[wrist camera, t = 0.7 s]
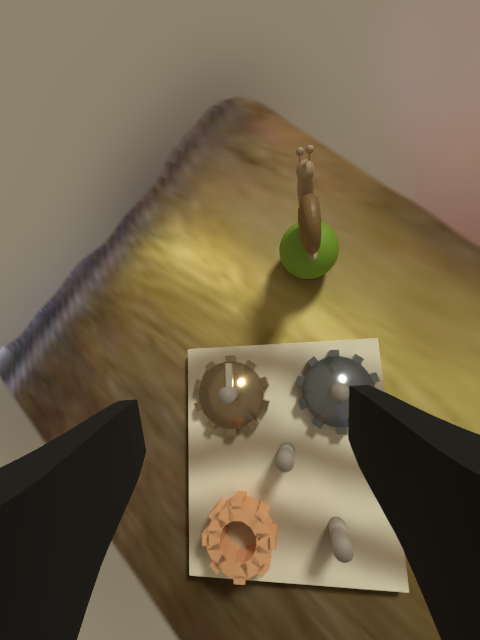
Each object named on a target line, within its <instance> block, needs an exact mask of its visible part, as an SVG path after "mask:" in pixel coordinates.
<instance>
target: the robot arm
mask: <svg viewBox="0 0 480 640" xmlns="http://www.w3.org/2000/svg"><path fill="white" fill-rule="evenodd" d="M348 440H349V442H350V445H351V448H352V451H353V453H354V456H355V458H356V461H357V463H358V466H359V468H360V470H361V472H362V474H363V475H364V477H365V479H366V481H367V483H368V485H369V487H370V488H371V490H372V492H373V494H374V496H375V498H376V499H377V501H378V503H379V505H380V507H381V509H382V510H383V512H384V514H385V516H386V518H387V520H388V521H389V523H390V525H391V527H392V529H393V530H394V532H395V534H396V536H397V538H398V540H399V542H400V544H401V546H402V548H403V550H404V552H405V555H406V557H407V559H408V562H409V564H410V566H411V568H412V571H413V573H414V575H415V578H416V580H417V582H418V585H419V587H420V589H421V592H422V594H423V596H424V599H425V601H426V604H427V606H428V608H429V611H430V613H431V616H432V618H433V621H434V623H435V625H436V628H437V630H438V633H439V635H440V637H441V640H480V435H479V434H476V433H473V432H471V431H468V430H466V429H463V428H461V427H458V426H456V425H453V424H451V423H449V422H446V421H444V420H442V419H440V418H437V417H435V416H433V415H431V414H428V413H426V412H424V411H422V410H420V409H418V408H416V407H414V406H412V405H410V404H408V403H406V402H404V401H402V400H400V399H398V398H396V397H394V396H392V395H390V394H387V393H385V392H383V391H381V390H379V389H377V388H375V387H372V386H370V385H357V386H349V427H348ZM145 454H146V448H145V442H144V436H143V431H142V425H141V419H140V413H139V407H138V402H137V400H123V401H118V402H116V403H114V404H112V405H110V406H108V407H106V408H105V409H103V410H101V411H100V412H98V413H97V414H95V415H93V416H92V417H90V418H88V419H87V420H85V421H84V422H82V423H80V424H79V425H77V426H76V427H74V428H72V429H71V430H69V431H67V432H66V433H64V434H62V435H60V436H59V437H57V438H55V439H54V440H52V441H50V442H48V443H47V444H45V445H43V446H42V447H40V448H38V449H36V450H34V451H33V452H31V453H29V454H27V455H25V456H23V457H21V458H19V459H17V460H15V461H13V462H11V463H9V464H7V465H5V466H3V467H1V468H0V640H77V637H78V634H79V631H80V628H81V624H82V622H83V618H84V615H85V612H86V609H87V606H88V602H89V600H90V597H91V594H92V591H93V588H94V585H95V582H96V579H97V576H98V573H99V570H100V567H101V565H102V562H103V559H104V557H105V555H106V552H107V549H108V547H109V545H110V543H111V540H112V538H113V536H114V534H115V531H116V529H117V527H118V525H119V522H120V520H121V518H122V515H123V513H124V511H125V509H126V506H127V504H128V502H129V500H130V497H131V495H132V493H133V490H134V488H135V486H136V483H137V481H138V478H139V475H140V471H141V468H142V465H143V461H144V457H145Z"/></svg>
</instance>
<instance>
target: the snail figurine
mask: <svg viewBox="0 0 480 640" xmlns="http://www.w3.org/2000/svg"><path fill="white" fill-rule="evenodd" d="M313 150H314V147H313V146H312V145H308V146H307V147H306V152H307V153H308V154H309V160H306V159H305V160H302V161H301V160H300V156H301V155H303V153H304V149H303V148H302V147H299V148H297V150H296V154H297V155H298V156H299V164H298V166H297V170H296V172H297V176H298V185H297V192H298V201H299V209H298V223H296V224H294V225H293V226H291V227H290V228H289V229H288V230H287V231H286V233H285V234H284V236H283V238H282V240H281V243H280V258H281V261H282V264H283V265H284V267H285V268H286V270H287V271H288V272H290V273H291V274H292V275H294V276H296V277H298V278H302V279H313V278H317V277H320V276H322V275H324V274H325V273H327V272H328V271H329V270H330V269H331V268H332V267H333V265H334V264H335V262H336V260H337V257H338V253H339V243H338V239H337V236H336V234H335V233H334V231H333V230H332V229H331V228H330V227H329V226H328V225H327V224H325V223H323V222H321V214H320V206H319V201H318V198H317V197H316V196H315V195H314V184H313V174H314V166H313V164H312V162H311V161H310V154H311V153H312V152H313Z"/></svg>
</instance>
